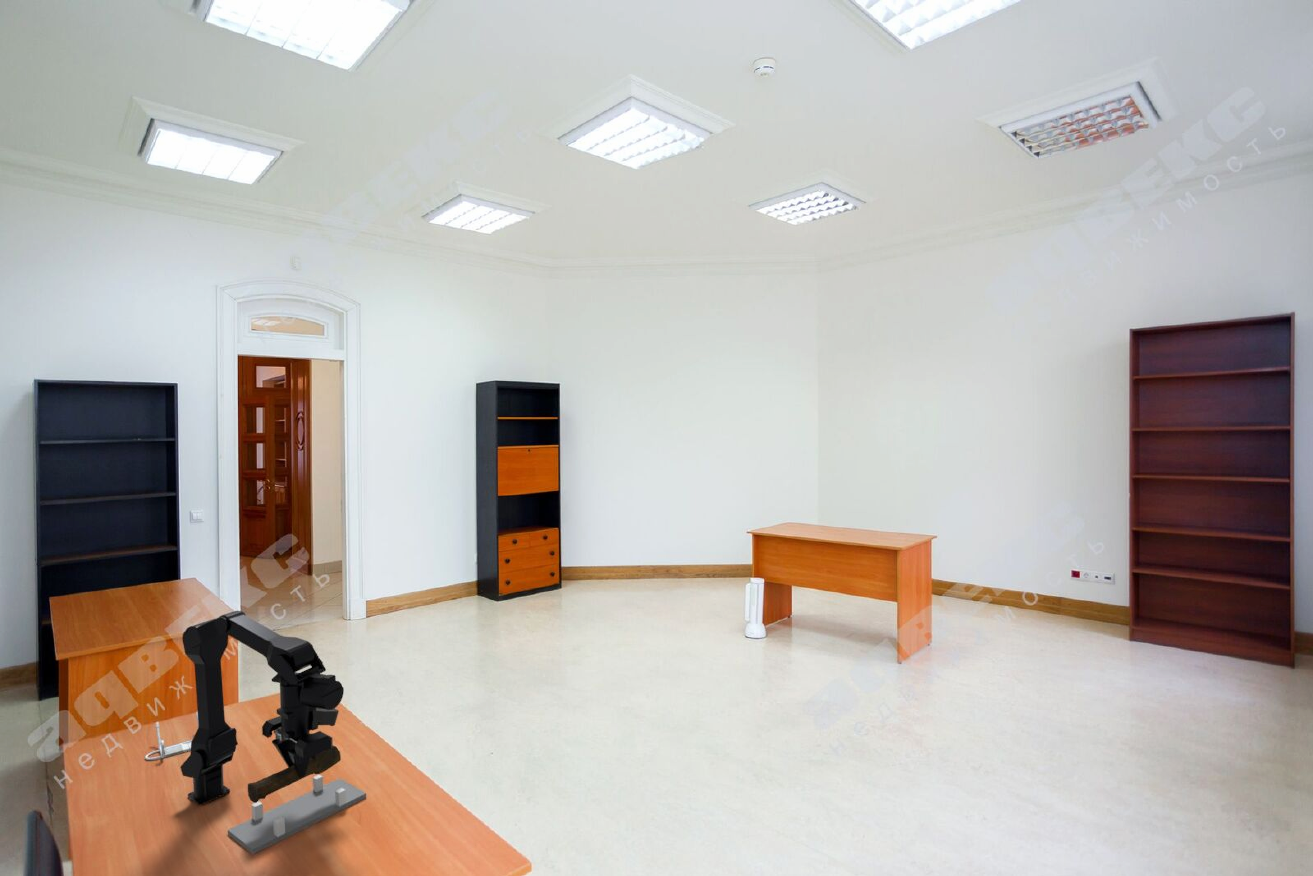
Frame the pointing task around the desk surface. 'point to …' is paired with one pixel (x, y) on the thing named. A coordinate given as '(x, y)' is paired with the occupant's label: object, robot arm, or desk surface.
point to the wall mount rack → (172, 749)
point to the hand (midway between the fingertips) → (298, 774)
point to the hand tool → (292, 774)
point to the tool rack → (294, 814)
